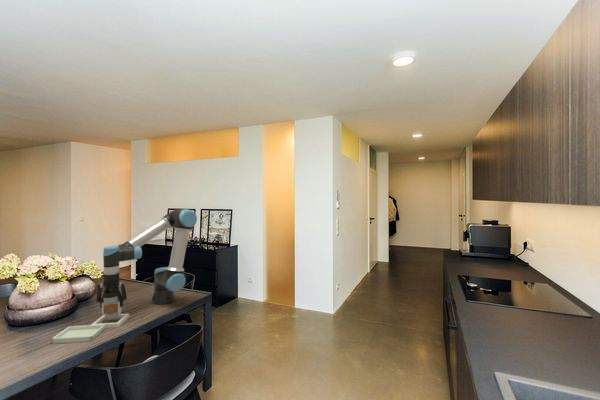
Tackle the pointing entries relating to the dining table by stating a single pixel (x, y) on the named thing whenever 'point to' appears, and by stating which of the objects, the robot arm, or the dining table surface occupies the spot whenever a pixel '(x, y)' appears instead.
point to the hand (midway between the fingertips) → (111, 312)
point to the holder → (111, 325)
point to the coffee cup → (111, 304)
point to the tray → (78, 334)
